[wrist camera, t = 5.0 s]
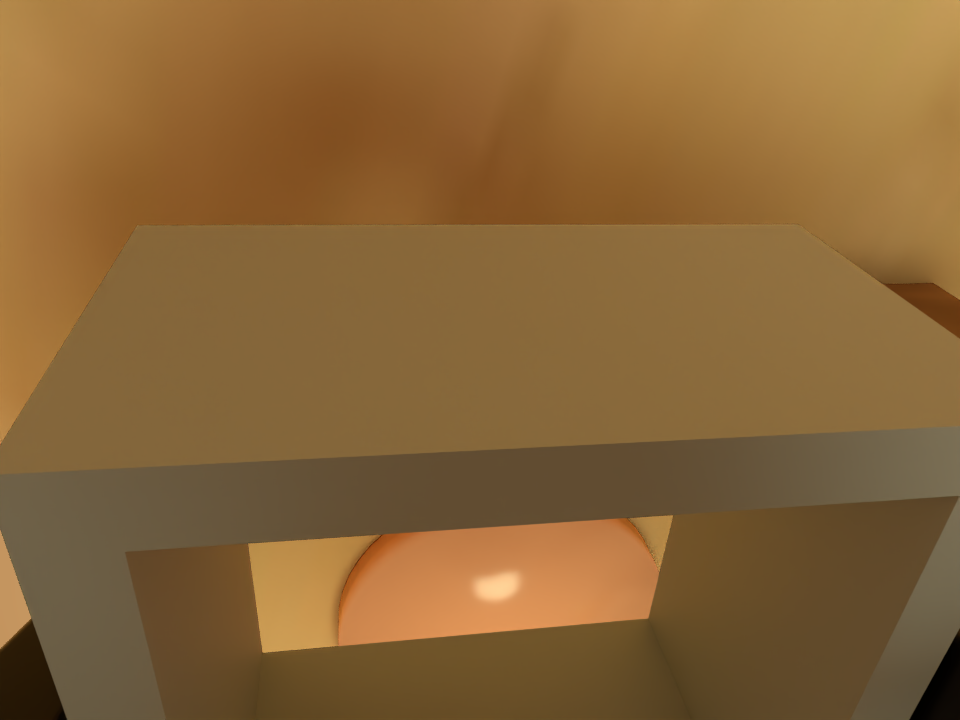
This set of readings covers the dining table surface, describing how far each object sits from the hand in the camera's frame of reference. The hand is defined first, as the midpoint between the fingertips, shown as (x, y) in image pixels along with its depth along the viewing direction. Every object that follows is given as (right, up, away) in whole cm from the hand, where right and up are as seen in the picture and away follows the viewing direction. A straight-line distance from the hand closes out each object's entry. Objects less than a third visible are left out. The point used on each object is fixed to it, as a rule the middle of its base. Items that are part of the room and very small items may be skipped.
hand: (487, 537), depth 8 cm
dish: (+1, -6, +16) cm, 17 cm away
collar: (0, 0, +1) cm, 1 cm away
